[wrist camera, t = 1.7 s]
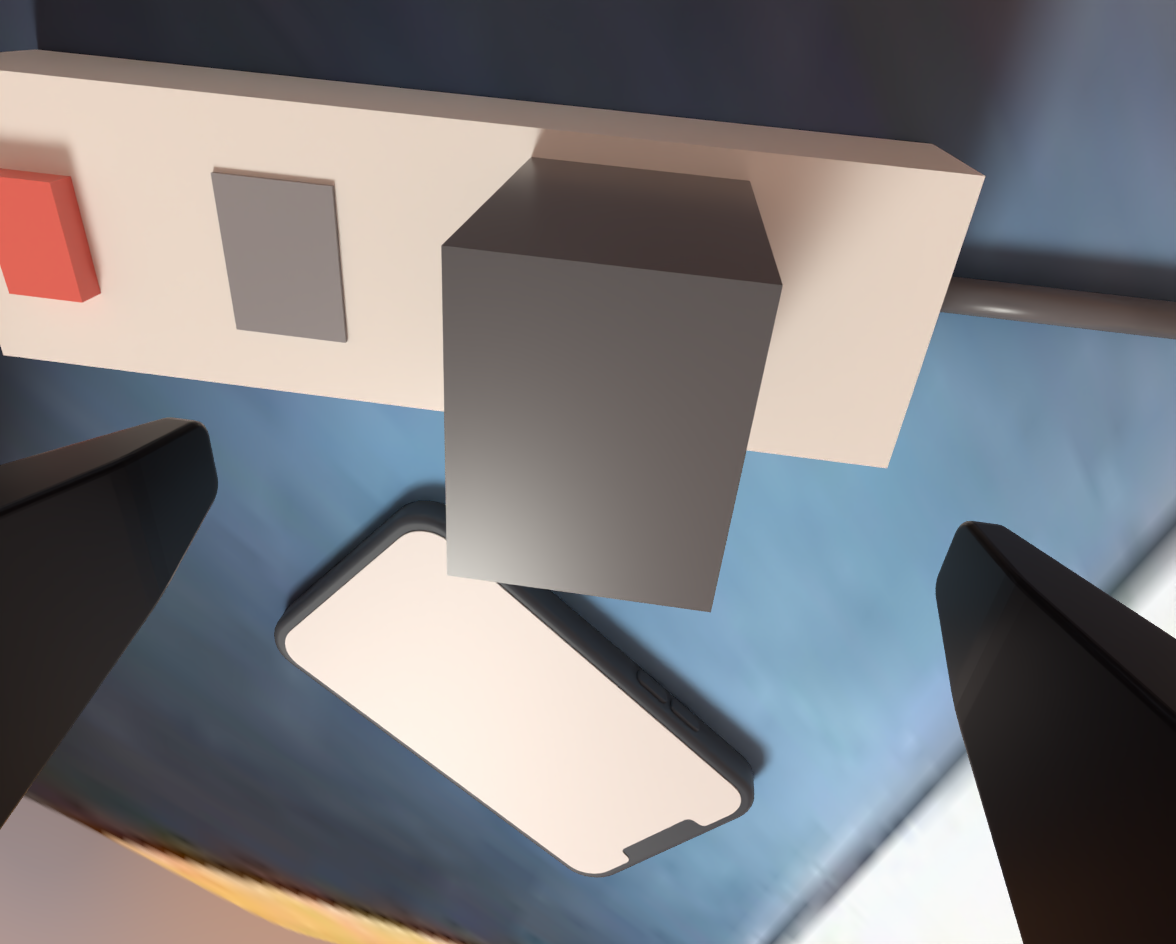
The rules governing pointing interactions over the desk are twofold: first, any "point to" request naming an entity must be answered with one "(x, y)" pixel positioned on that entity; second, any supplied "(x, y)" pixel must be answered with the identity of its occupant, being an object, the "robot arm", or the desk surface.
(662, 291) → the charger
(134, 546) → the robot arm
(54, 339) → the power strip
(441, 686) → the phone case
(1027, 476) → the desk surface
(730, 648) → the desk surface
